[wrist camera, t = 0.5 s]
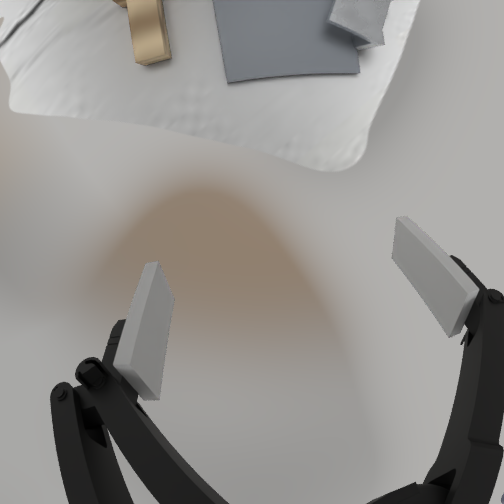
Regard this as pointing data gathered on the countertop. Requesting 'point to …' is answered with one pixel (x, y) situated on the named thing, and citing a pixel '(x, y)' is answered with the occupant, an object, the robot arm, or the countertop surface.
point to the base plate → (282, 39)
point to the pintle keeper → (361, 20)
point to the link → (147, 30)
